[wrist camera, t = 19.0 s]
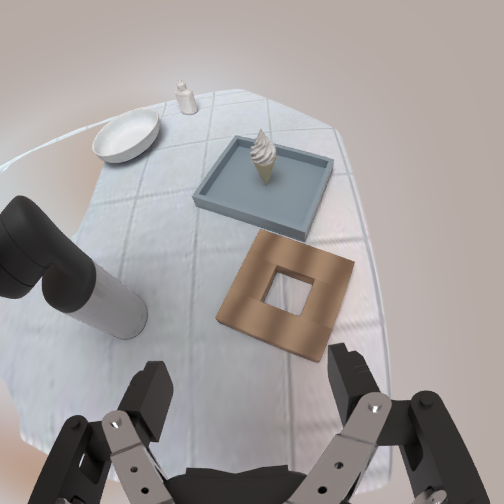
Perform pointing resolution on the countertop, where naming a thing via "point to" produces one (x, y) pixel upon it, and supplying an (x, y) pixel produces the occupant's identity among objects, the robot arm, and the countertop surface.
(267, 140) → the ice cream cone
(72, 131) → the countertop surface
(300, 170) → the slate blue tray
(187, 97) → the eye dropper bottle
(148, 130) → the serving bowl
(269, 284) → the walnut board
